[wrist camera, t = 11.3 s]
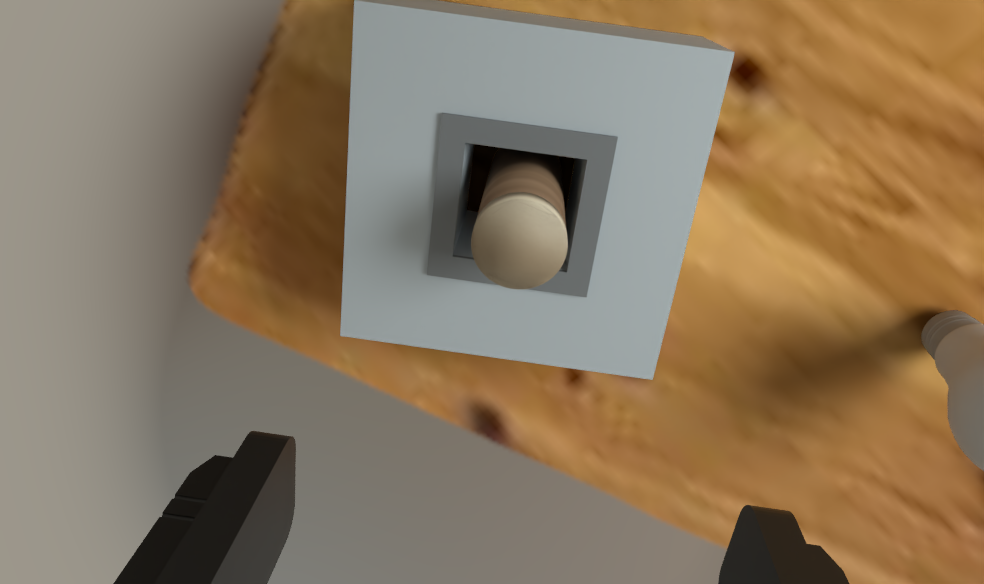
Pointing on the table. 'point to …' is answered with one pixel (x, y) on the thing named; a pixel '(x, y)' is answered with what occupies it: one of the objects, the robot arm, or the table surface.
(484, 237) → the dowel
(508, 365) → the table surface
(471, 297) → the socket block
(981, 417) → the lightbulb
